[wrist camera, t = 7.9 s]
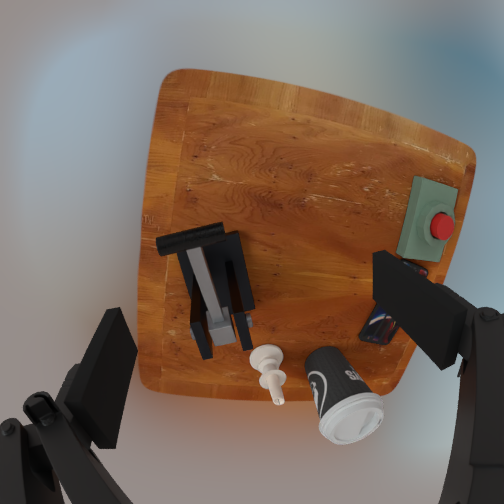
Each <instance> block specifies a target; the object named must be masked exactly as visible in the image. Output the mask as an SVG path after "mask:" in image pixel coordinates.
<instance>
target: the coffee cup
mask: <svg viewBox="0 0 504 504" xmlns="http://www.w3.org/2000/svg"><path fill="white" fill-rule="evenodd" d="M305 370H306V373H307V377H308V380H309V383H310V387H311V390H312V394H313V397H314V400H315V404H316V407H317V411H318V414H319V418H320V424H319V430H320V432H321V433H322V435H323V436H324V437H326V438H327V439H329V440H331V441H332V442H333V443H335V444H350V443H353V442H356V441H359V440H361V439H363V438H365V437H366V436H368V435H369V434H371V433H372V432H373V431H374V430H375V429H376V428H377V427H378V426H379V425H380V423H381V422H382V420H383V408H384V407H383V401H382V398H381V397H380V396H379V395H378V394H375V393H373V392H372V391H371V390H370V388H369V387H368V386H367V385H366V383H365V382H364V381H363V380H362V378H361V377H360V376H359V375H358V373H357V372H356V371H355V370H354V368H353V367H352V366H351V365H350V363H349V362H348V361H347V360H346V358H345V357H344V356H343V355H342V353H341V352H340V351H339V350H338V349H337V348H335V347H331V346H327V347H322V348H319V349H317V350H315V351H314V352H313V353H311V354H310V355H309V357H308V358H307V360H306V362H305Z"/></svg>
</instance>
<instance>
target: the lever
mask: <svg viewBox="0 0 504 504" xmlns="http://www.w3.org/2000/svg"><path fill="white" fill-rule="evenodd" d="M224 241H227V239H226V235H225V230H224V226H223V222H218V223H214V224H209V225H205V226H201V227H197V228H193V229H189V230H185V231H181V232H176V233H172V234H168V235H164V236H161V237H157V238H156V246H157V250H158V253H159V255H160V256H165V255H170V254H174V253H178V252H182V251H187V254H188V257H189V260H190V262H191V265H192V268H193V271H194V274H195V276H196V279H197V282H198V284H199V287H200V290H201V292H202V295H203V298H204V300H205V303H206V306H207V308H208V311H206V316H207V324H208V331H209V333H210V335H211V338H212V340H213V342H214V345H215V346H219V345H224V344H228V343H233V342H237V340H236V335H235V330H234V325H233V321H232V318H231V315H230V311H229V308H228V306H227V307H223V308H221V305H220V302H219V299H218V296H217V292H216V289H215V286H214V283H213V280H212V277H211V274H210V271H209V268H208V264H207V261H206V258H205V255H204V251H203V248H202V247H203V246H207V245H211V244H216V243H220V242H224Z"/></svg>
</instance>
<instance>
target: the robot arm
mask: <svg viewBox="0 0 504 504" xmlns="http://www.w3.org/2000/svg"><path fill="white" fill-rule="evenodd" d="M373 299H374V300H375V301H376V302H377V303H378V304H379V305H380V306H381V307H382V309H383V310H384V311H385V312H386V313H387V314H388V315H389V316H390V317H391V318H392V319H393V320H394V321H395V322H396V323H397V324H398V325H399V326H400V327H401V328H402V329H403V330H404V331H405V332H406V333H407V334H408V335H409V336H410V337H411V338H412V340H413V341H414V342H415V343H416V344H417V345H418V346H419V347H420V348H421V349H422V350H423V351H424V352H425V353H426V354H427V355H428V356H429V357H430V359H431V360H432V361H433V362H434V363H435V364H436V365H437V366H438V367H439V369H440V370H444V369H446V368H447V367H449V366H451V365H453V364H455V361H456V357H457V354H458V353H459V354H460V355H461V356H462V357H463V359H462V362H461V366H460V369H459V372H458V375H457V377H460V389H459V400H458V410H457V419H456V425H455V432H454V439H453V444H452V450H451V455H450V460H449V465H448V469H447V474H446V478H445V482H444V486H443V490H442V494H441V497H440V501H439V503H438V504H504V313H503V314H500V313H499V312H498V311H497V310H495V309H493V308H489V307H481V308H478V309H477V308H476V307H475V306H473V305H472V304H470V303H469V302H468V301H467V300H465V299H464V298H462V297H461V296H459V295H458V294H457V293H455V292H454V291H453V290H451V289H450V288H448V287H447V286H444V285H442V284H439V283H435V284H434V283H432V282H431V281H429V280H428V279H427V278H425V277H424V276H422V275H421V274H419V273H418V272H417V271H415V270H414V269H412V268H411V267H409V266H408V265H406V264H405V263H404V262H402V261H401V260H399V259H398V258H396V257H395V256H393V255H392V254H390V253H389V252H387V251H386V250H383V251H378V252H374V253H373ZM137 353H138V349H137V347H136V345H135V343H134V340H133V338H132V336H131V333H130V331H129V328H128V326H127V324H126V321H125V319H124V316H123V314H122V311H121V309H120V307H118V308H112V309H107V310H106V312H105V314H104V316H103V318H102V320H101V322H100V324H99V326H98V328H97V330H96V332H95V334H94V336H93V338H92V340H91V342H90V344H89V346H88V348H87V350H86V353H85V354H84V357H83V359H82V361H81V363H80V364H75V365H74V366H73V367H72V368H71V369H70V370H69V371H68V374H67V376H66V378H65V381H64V382H63V384H62V387H61V388H60V391H59V393H58V395H57V397H56V400H55V402H54V400H53V399H52V397H51V396H50V395H49V394H48V393H47V392H44V391H42V392H37V393H35V394H32V395H31V396H30V397H28V398H27V400H26V401H25V403H24V405H23V411H24V413H25V414H26V415H27V416H28V418H29V419H30V420H31V422H32V423H33V424H29V425H26V426H23V425H22V424H21V423H20V422H19V421H18V420H17V419H16V418H9V419H7V420H5V421H3V423H1V425H0V504H65V503H64V500H63V496H62V491H61V487H60V483H61V485H62V486H63V488H64V490H65V492H66V494H67V495H68V497H69V499H70V501H71V503H72V504H133V503H132V502H131V501H130V499H129V498H128V497H127V496H126V495H125V493H124V492H123V491H122V490H121V488H120V487H119V486H118V485H117V483H116V482H115V481H114V479H113V478H112V477H111V475H110V474H109V473H108V471H107V470H106V469H105V468H104V466H103V464H102V463H101V462H100V460H99V459H98V457H97V456H96V454H95V453H94V452H93V450H92V449H91V448H90V446H91V442H92V441H93V442H94V443H95V444H96V446H97V447H98V448H99V449H116V443H117V438H118V434H119V429H120V423H121V419H122V415H123V410H124V405H125V401H126V397H127V392H128V388H129V384H130V380H131V375H132V371H133V368H134V364H135V360H136V356H137ZM460 374H461V376H460ZM59 481H60V483H59Z"/></svg>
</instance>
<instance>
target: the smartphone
mask: <svg viewBox="0 0 504 504" xmlns="http://www.w3.org/2000/svg"><path fill="white" fill-rule="evenodd" d="M401 261H402V262H404V263H405V264H406V265H408V266H409V267H411V268H412V269H414V270H415V271H417V272H418V273H419V274H421V275H422V276H424V277H425V278H426V277H427V275H428V270H427V269H425V268H423V267H421V266H419V265H416V264H414V263H412V262H410V261H407V260H405V259H401ZM399 327H400V326H399V325H398V324H397V323H396V322H395V321H394V320H393V319H392V318H391V317H390V316H389V315H388V314H387V313H386V312H385V311H384V310H383V309H382V307H381V306H380V305H379V304H378V303H377V304H376V306H375V308H374V310H373V311H372V313H371V315H370V317H369V319H368V320H367V322H366V324H365V326H364V327H363V329H362V331H361V332H360V334H359V339H360V340H361V341H366V342H371V343H376V344H381V345H387V344H389V343H390V341H391V340H392V338H393V336H394V335H395V333H396V332H397V330H398V328H399Z"/></svg>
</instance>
